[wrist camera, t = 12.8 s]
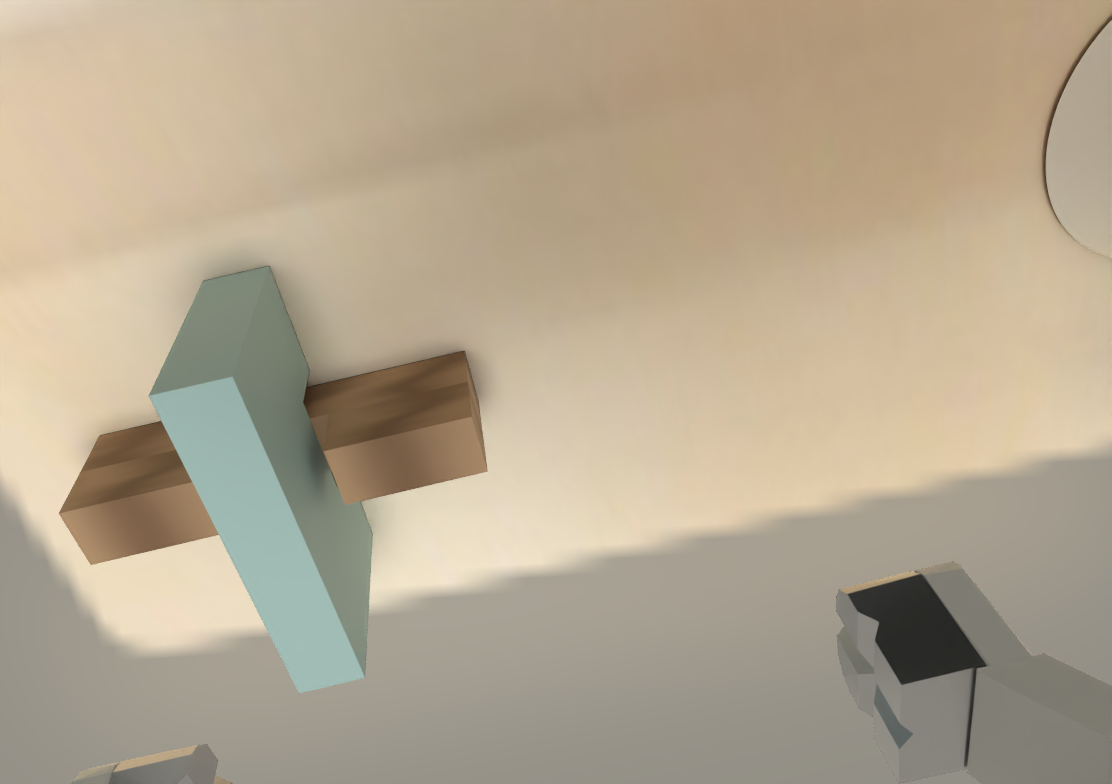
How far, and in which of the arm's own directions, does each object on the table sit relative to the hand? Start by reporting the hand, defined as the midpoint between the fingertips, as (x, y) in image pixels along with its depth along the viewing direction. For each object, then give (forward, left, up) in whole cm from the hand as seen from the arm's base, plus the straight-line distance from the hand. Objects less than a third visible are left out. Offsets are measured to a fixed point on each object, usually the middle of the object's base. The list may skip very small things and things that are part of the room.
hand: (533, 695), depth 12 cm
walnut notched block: (+11, +13, -31) cm, 35 cm away
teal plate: (+11, +13, -31) cm, 35 cm away
